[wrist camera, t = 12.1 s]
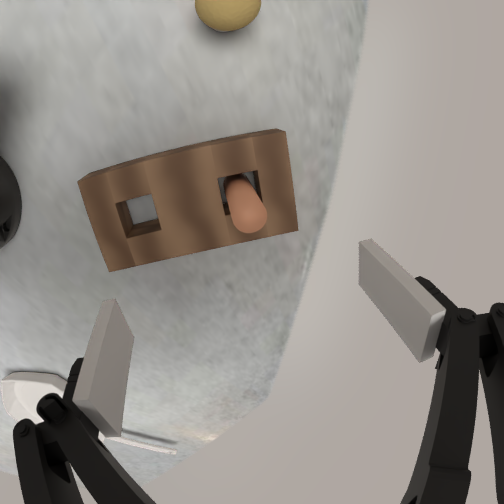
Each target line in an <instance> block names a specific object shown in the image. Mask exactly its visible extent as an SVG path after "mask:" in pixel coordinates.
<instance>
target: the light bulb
mask: <svg viewBox="0 0 504 504" xmlns="http://www.w3.org/2000/svg"><path fill="white" fill-rule="evenodd" d="M260 7H261V0H195V8H196V12H197V14H198V16H199V18H200V19H201V20H202V21H203V22H204V23H205V24H206V25H208V26H209V27H211V28H213V29H214V30H216V31H219V32H227V31H233V30H237V29H240V28H243V27H245V26H247V25H248V24H249V23H251V22H252V21H253V20H254V19H255V17H256V16H257V14H258V13H259V10H260Z"/></svg>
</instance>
